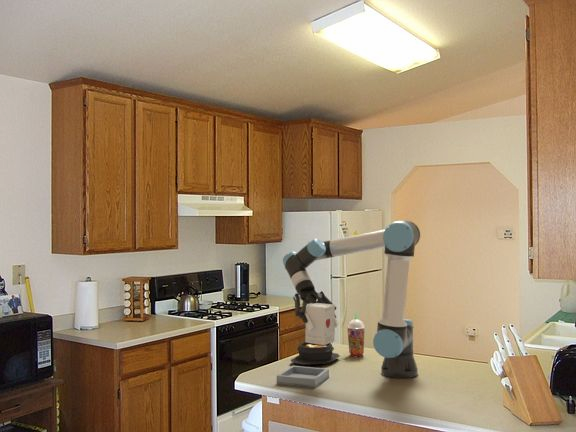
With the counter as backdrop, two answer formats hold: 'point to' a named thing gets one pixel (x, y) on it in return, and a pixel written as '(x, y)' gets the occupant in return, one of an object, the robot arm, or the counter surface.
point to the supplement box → (321, 323)
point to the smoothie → (356, 337)
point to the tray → (303, 376)
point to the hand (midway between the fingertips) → (324, 327)
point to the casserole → (314, 354)
